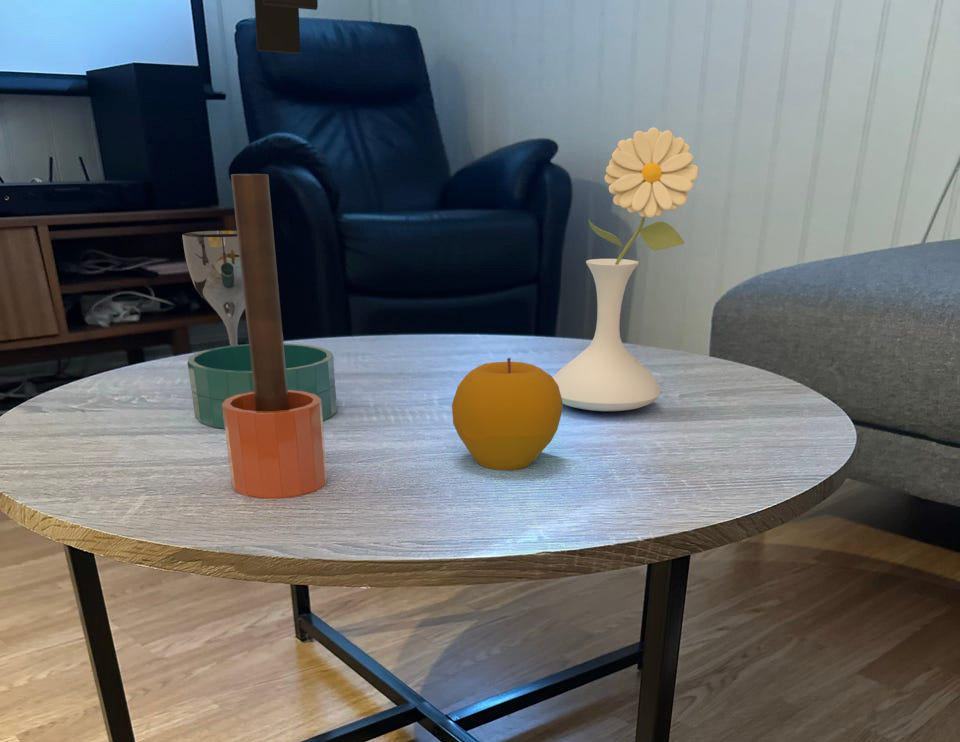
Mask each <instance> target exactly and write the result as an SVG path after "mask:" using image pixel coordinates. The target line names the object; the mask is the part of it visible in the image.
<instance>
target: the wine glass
mask: <svg viewBox="0 0 960 742" xmlns="http://www.w3.org/2000/svg"><path fill="white" fill-rule="evenodd" d="M181 236H182V244H183V250H184V251H183V252H184V258H185V262H186V266H187V269H188V273H189V276H190V278H191V281H192V284H193V286H194V289H195V290H196V292H197V293H198V294H199V296H200V297H201V298H202V299H203V300H204V301H205V302H206V303H207V304H208V305H209V306H210V308H212V309H213V310H214V311H215V312H216V314H217V315H218V316H219V318H220V319H221V321H222V323H223V325H224V327H225V330H226V334H227V338H228V343H229V346H232V345H238V328H239V323H240V319H241V317H242V314H243V312H244V311H245V302H244V292H243V283H242V274H241V264H240V255H239V246H238V236H237V230H205V231H204V230H203V231H192V232H185V233H182V235H181Z"/></svg>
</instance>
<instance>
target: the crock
mask: <svg viewBox="0 0 960 742" xmlns="http://www.w3.org/2000/svg"><path fill="white" fill-rule="evenodd" d="M288 398H289V409H290V410H281V411H256V405H255V395H254V392H248V393H243V394H238V395H235V396H232V397H230V398H227V399H225V401H224V402H223V403H222V409H223V417H224V425H225V429H224V433H225V439H226V447H227V449H226V450H227V457H228V464H229V473H230V481H231V487H232V488H233V490H234V491H235V492H236V493H238V494H240V495H242V496H246V497H250V498H255V499H268V500H269V499H270V500H271V499H272V500H274V499H276V500H277V499H289V498H296V497H301V496H302V497H303V496H306V495H308V494H312V493H315V492H317V491H319V490H321V489H322V488H324V487H325V486H326V484H327V480H328V474H327V473H328V472H327V458H326V447H325V445H326V444H325V432H324V421H323V417H322V404H321V398H320V397H318V396H317V395H315V394H312V393H308V392H304V391H294V390H288Z"/></svg>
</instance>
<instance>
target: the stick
mask: <svg viewBox="0 0 960 742" xmlns="http://www.w3.org/2000/svg"><path fill="white" fill-rule="evenodd" d="M269 177H270V176H269V174H267V173H232V174H230V179H231V189H232V197H233V198H232V199H233V207H234V217H235V226H236V227H235V228H236V231H237V236H238V246H239V255H240V264H241V274H242V283H243V292H244V302H245V309H244V311H245V319H246V328H247V329H246V330H247V338H248V344H249V348H250V358H251V367H252V376H253V386H254V395H255V405H256V411H281V410H290V409H289V398H288V387H287V376H286V365H285V354H284V344H285V342H284V335H283V334H284V333H283V322H282V312H281V310H282V309H281V300H280V288H279V279H278V278H279V277H278V276H279V275H278V268H277V267H278V266H277V254H276V245H275V232H274V221H273V212H272V211H273V209H272V200H271V188H270V178H269Z"/></svg>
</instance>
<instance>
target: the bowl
mask: <svg viewBox="0 0 960 742" xmlns="http://www.w3.org/2000/svg"><path fill="white" fill-rule="evenodd" d="M284 354H285V365H286V376H287V387H288V390H294V391H304V392H308V393H312V394H315V395H317V396H318V397H320V398H321V404H322V417H323V422H324V421H326V420H329V419H330V418H332V417H333V416H334V415H335V414H336V413H337V412H338V406H337V405H338V404H337V391H336V376H335V363H334V362H335V361H334V355H333V352H332V351H330V350H328V349H326V348H323V347H319V346H314V345H309V344H301V343H300V344H299V343H284ZM187 369H188V377H189V383H190V391H191V398H192V405H193V412H194V418H195V420H197V421H198V422H199V423H200V424H203V425H206V426H209V427H212V428H215V429H224V430H225V425H224V417H223V409H222V403H223V402H224V401H225V399H227V398H230V397H232V396H235V395H238V394H243V393H248V392H254V386H253V376H252V367H251V358H250V348H249V343H245V344H237V345H232V346H230V345H227V346H220V347H214V348H209V349H206V350H202V351H198V352H195V353H194V354H192V355H190V356H189V357H188V358H187Z"/></svg>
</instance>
